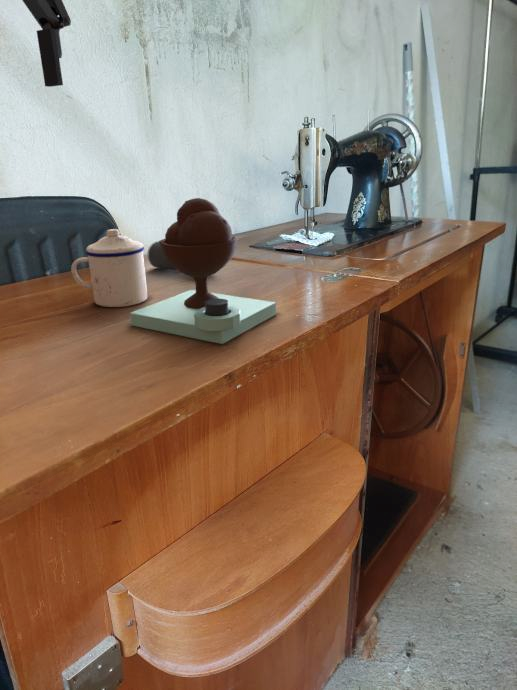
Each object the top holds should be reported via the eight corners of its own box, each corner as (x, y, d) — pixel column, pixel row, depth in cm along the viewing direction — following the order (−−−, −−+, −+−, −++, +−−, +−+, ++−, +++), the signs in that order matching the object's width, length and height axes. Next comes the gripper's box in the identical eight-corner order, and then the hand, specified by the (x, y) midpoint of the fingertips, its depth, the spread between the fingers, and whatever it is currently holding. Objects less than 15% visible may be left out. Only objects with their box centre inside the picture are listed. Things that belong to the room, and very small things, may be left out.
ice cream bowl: (151, 303, 77) (141, 200, 72) (212, 289, 84) (207, 194, 78) (190, 319, 70) (182, 205, 64) (254, 303, 76) (251, 198, 71)
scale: (126, 327, 73) (123, 303, 72) (191, 300, 85) (190, 280, 84) (224, 348, 65) (222, 321, 64) (281, 315, 77) (281, 292, 75)
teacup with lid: (153, 292, 91) (146, 224, 86) (143, 307, 82) (135, 233, 78) (84, 294, 90) (74, 226, 86) (68, 309, 82) (55, 235, 78)
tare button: (201, 316, 67) (200, 303, 66) (214, 309, 69) (214, 297, 69) (220, 319, 66) (219, 306, 65) (233, 313, 68) (232, 300, 67)
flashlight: (219, 274, 102) (218, 247, 100) (199, 280, 98) (197, 252, 96) (168, 264, 111) (166, 239, 109) (148, 269, 107) (145, 243, 106)
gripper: (44, -89, 68) (69, 90, 76) (-183, -180, 48) (-118, 74, 56) (83, -103, 64) (105, 86, 72) (-145, -209, 45) (-81, 68, 52)
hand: (8, 81), depth 64 cm, fingers open, 13 cm apart
